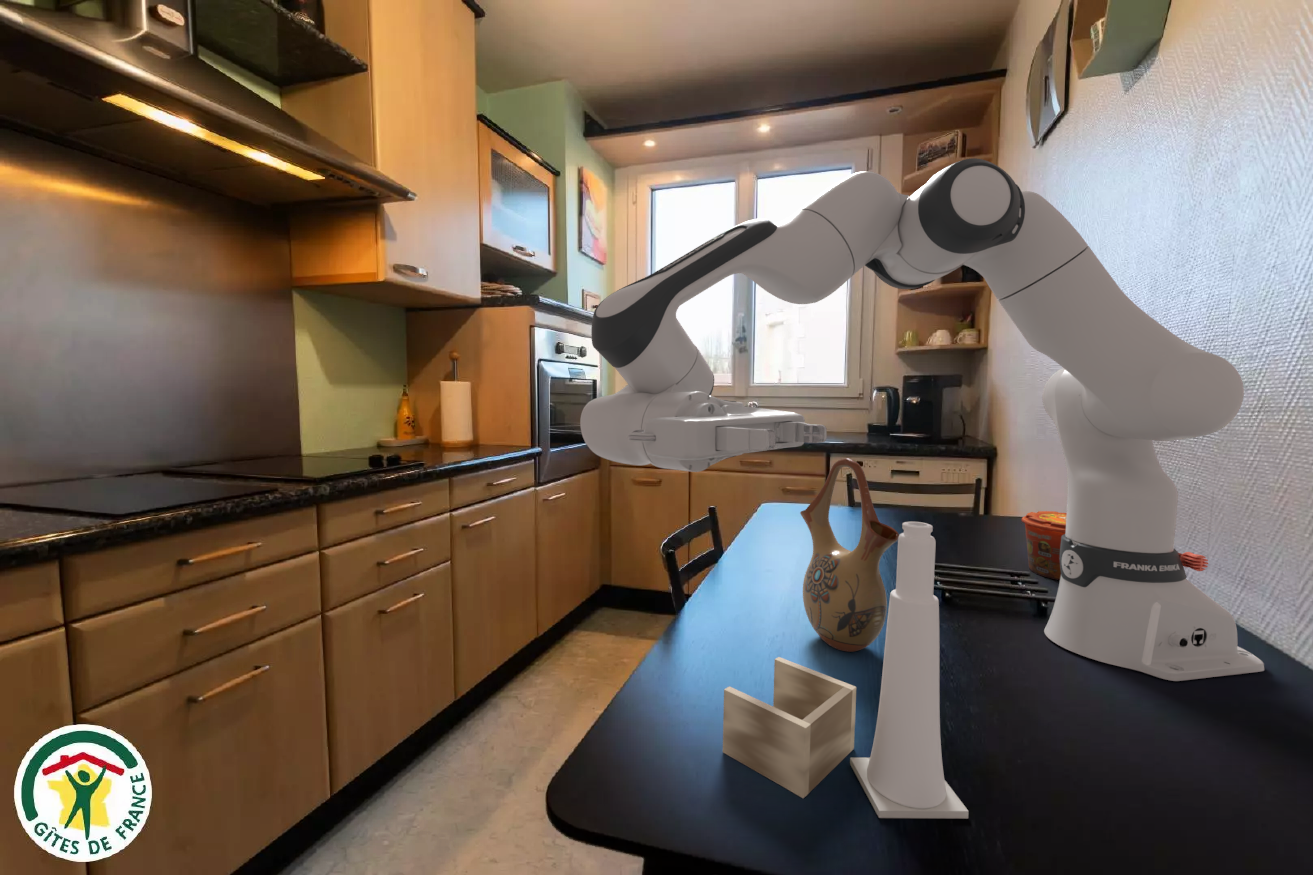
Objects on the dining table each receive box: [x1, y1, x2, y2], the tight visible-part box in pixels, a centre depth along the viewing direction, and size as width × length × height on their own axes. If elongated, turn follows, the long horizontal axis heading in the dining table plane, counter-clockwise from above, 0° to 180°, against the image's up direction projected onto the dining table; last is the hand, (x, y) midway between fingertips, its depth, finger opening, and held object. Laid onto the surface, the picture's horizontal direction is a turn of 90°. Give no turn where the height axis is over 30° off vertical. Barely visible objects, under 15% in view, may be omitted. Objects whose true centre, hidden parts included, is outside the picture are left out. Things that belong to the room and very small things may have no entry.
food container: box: [1021, 510, 1067, 581], centre depth 105 cm, size 16×16×11 cm
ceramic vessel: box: [799, 457, 900, 653], centre depth 73 cm, size 16×9×25 cm, turn 24°
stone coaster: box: [849, 757, 969, 819], centre depth 46 cm, size 7×6×1 cm
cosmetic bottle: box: [867, 521, 946, 809], centre depth 46 cm, size 6×6×22 cm
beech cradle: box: [722, 656, 857, 799], centre depth 51 cm, size 8×9×6 cm
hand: (798, 436), depth 52 cm, fingers open, 8 cm apart
